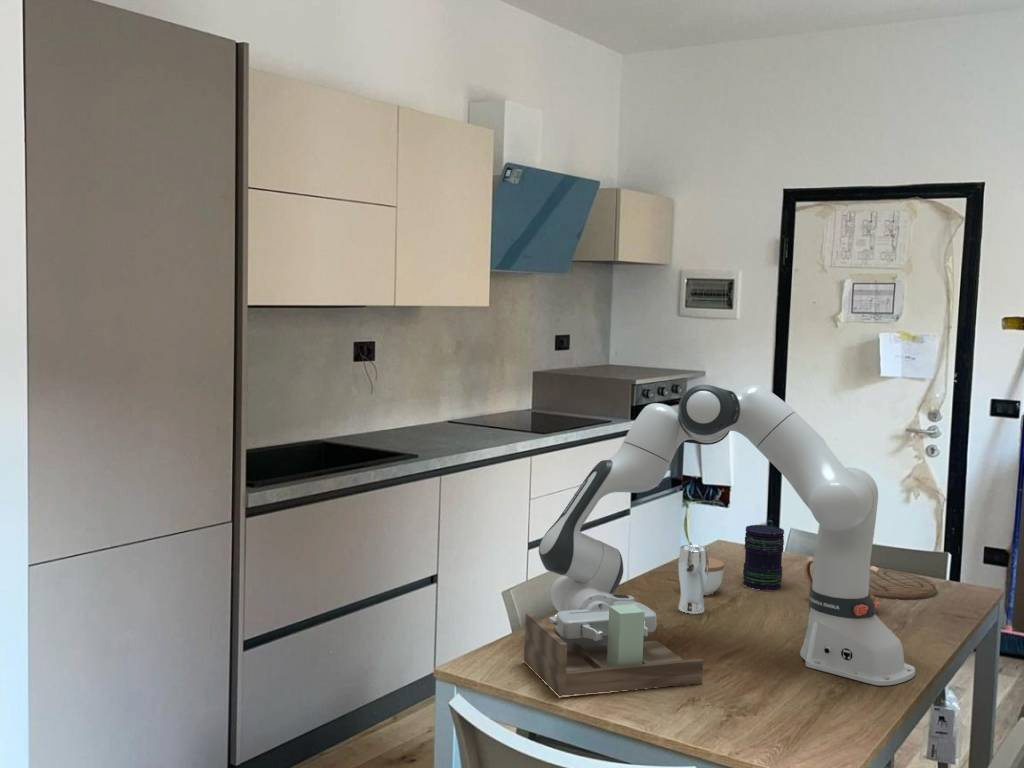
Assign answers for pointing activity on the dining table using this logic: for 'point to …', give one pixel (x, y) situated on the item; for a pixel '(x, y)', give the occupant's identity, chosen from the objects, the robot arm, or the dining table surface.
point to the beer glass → (692, 577)
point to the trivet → (900, 585)
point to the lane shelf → (601, 665)
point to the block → (625, 635)
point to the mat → (585, 642)
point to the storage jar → (763, 557)
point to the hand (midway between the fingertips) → (622, 635)
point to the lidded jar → (714, 576)
